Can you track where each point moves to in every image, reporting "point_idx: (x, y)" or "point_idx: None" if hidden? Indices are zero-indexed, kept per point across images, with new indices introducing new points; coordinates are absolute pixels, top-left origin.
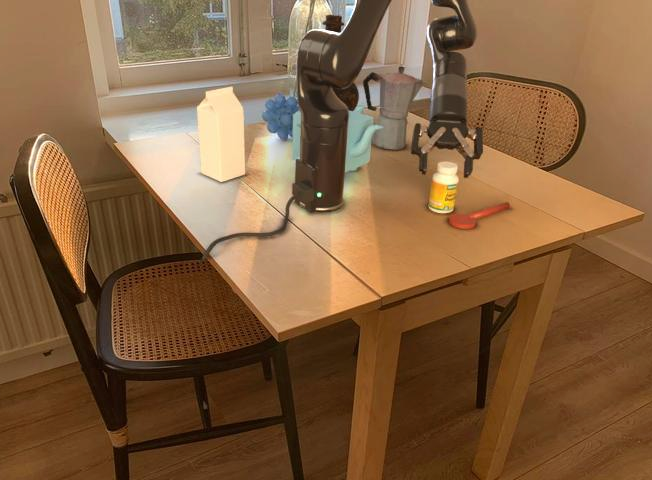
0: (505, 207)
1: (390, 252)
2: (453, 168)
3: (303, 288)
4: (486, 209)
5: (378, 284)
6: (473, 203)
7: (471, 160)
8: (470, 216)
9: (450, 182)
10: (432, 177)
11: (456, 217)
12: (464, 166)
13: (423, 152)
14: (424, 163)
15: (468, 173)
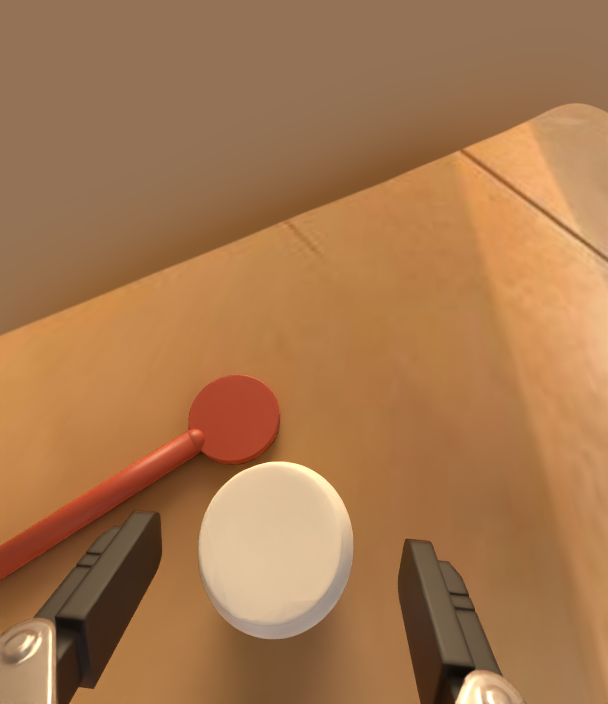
0: (7, 541)
1: (456, 260)
2: (247, 469)
3: (591, 160)
4: (114, 484)
5: (467, 172)
6: None
7: (55, 606)
8: (200, 431)
9: (267, 463)
10: (353, 549)
11: (252, 426)
12: (120, 626)
13: (490, 676)
14: (439, 578)
15: (141, 511)
